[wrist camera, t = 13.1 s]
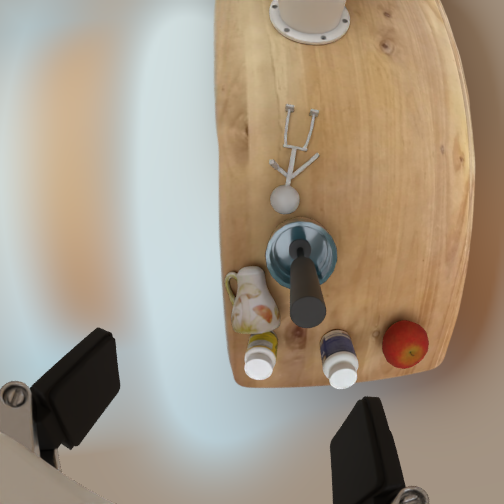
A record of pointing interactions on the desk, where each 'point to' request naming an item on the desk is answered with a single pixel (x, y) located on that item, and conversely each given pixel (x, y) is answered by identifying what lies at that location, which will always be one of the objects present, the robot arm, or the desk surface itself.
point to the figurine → (290, 172)
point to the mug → (252, 302)
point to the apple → (405, 344)
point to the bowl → (309, 231)
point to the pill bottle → (339, 359)
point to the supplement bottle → (261, 355)
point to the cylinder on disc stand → (304, 287)
